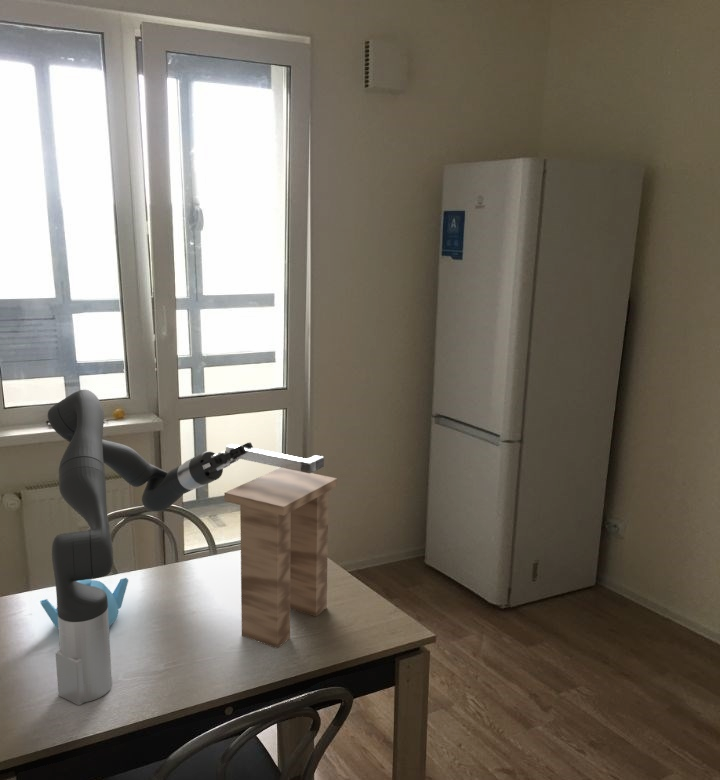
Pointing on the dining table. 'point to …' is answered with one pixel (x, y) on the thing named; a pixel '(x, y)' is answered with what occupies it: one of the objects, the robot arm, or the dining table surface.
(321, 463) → the crook tool
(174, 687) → the dining table surface
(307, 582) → the shelf
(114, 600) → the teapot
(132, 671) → the dining table surface
